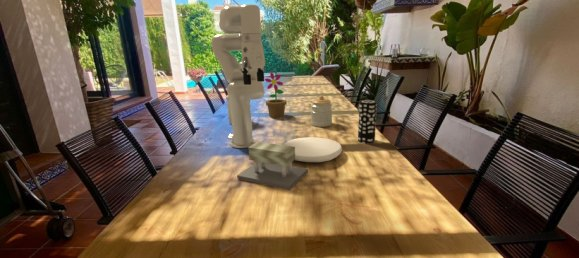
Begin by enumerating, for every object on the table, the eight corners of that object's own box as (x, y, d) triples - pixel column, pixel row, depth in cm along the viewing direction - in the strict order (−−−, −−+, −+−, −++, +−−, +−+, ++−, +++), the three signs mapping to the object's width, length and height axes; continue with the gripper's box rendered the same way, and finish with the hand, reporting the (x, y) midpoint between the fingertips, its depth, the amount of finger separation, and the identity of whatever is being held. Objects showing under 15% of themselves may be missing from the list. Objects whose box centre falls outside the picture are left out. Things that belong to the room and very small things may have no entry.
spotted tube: (371, 144, 147) (374, 103, 141) (355, 141, 151) (356, 102, 145) (377, 139, 153) (379, 100, 148) (361, 137, 158) (362, 99, 152)
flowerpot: (264, 118, 202) (261, 72, 194) (268, 113, 216) (266, 70, 207) (285, 118, 200) (283, 72, 191) (288, 113, 213) (287, 70, 205)
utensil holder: (232, 119, 202) (230, 93, 197) (254, 119, 200) (252, 93, 195) (225, 125, 188) (222, 97, 183) (248, 125, 186) (246, 97, 181)
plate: (288, 134, 151) (343, 136, 146) (288, 147, 152) (342, 149, 147) (274, 147, 124) (340, 151, 119) (274, 163, 125) (340, 167, 120)
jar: (317, 120, 193) (317, 93, 188) (335, 123, 185) (336, 94, 181) (306, 125, 183) (306, 96, 178) (325, 128, 175) (325, 98, 170)
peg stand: (237, 178, 114) (236, 162, 112) (260, 163, 128) (259, 149, 126) (289, 190, 104) (289, 172, 103) (308, 172, 118) (307, 156, 116)
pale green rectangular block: (295, 159, 114) (294, 146, 113) (286, 166, 108) (286, 153, 107) (259, 153, 121) (258, 141, 120) (249, 159, 115) (248, 147, 114)
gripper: (247, 38, 109) (250, 86, 114) (271, 38, 124) (272, 80, 129) (230, 39, 113) (234, 85, 117) (255, 39, 127) (258, 79, 132)
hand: (254, 82), depth 123 cm, fingers open, 9 cm apart
